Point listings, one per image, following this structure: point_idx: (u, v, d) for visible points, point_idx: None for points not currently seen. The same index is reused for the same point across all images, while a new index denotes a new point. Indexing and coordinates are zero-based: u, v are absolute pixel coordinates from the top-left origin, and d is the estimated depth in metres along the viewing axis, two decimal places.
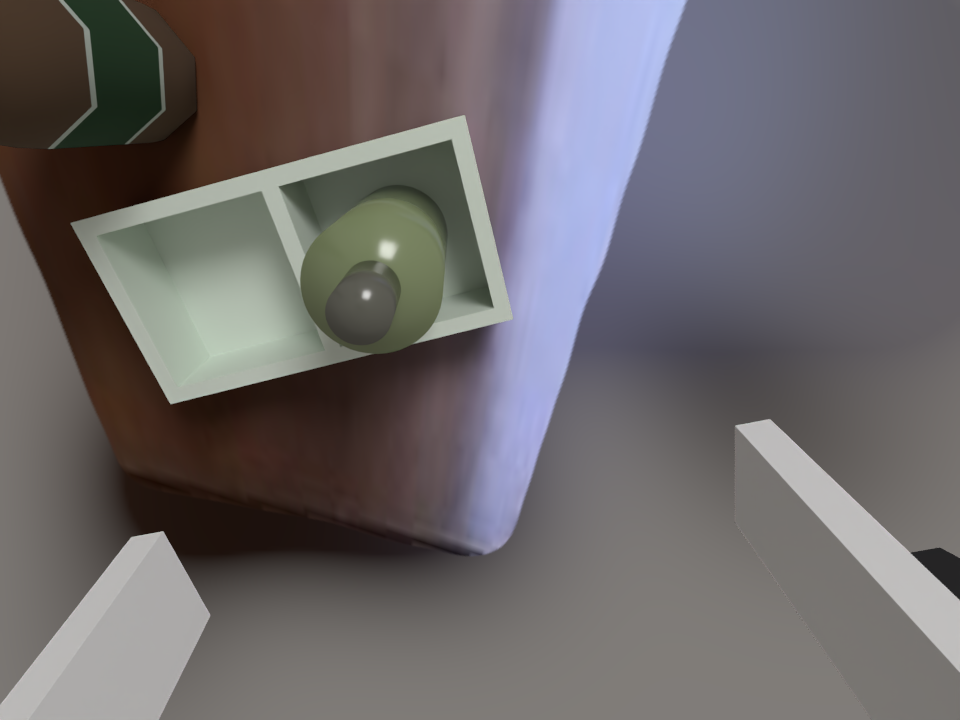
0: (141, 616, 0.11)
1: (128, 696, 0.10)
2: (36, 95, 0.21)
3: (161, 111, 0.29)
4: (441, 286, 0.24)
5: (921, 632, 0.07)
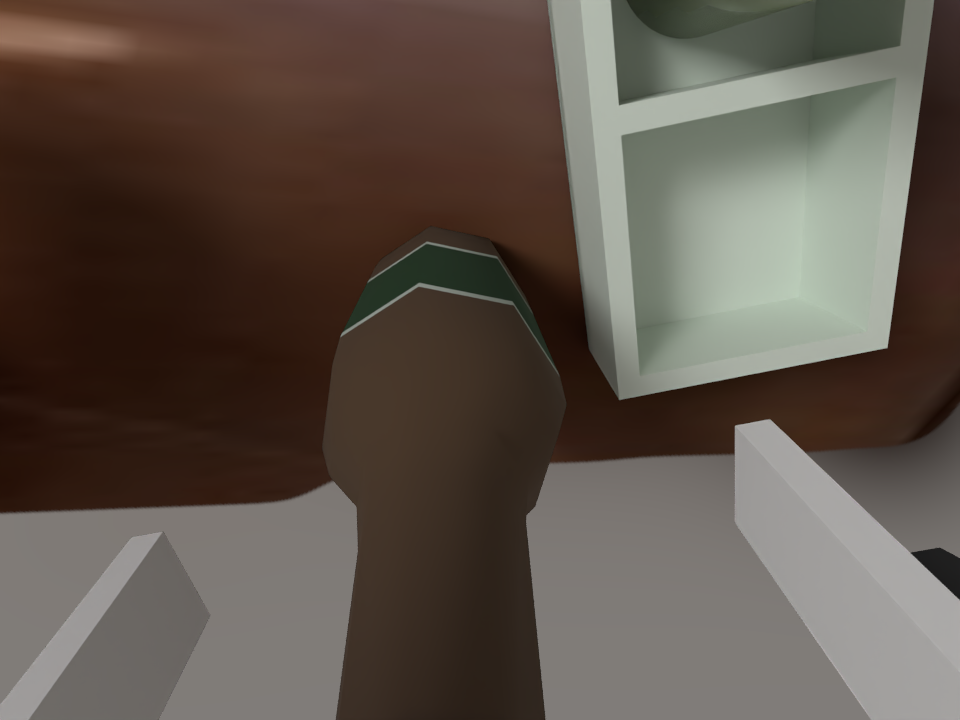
0: (141, 616, 0.11)
1: (128, 696, 0.10)
2: (511, 350, 0.14)
3: (498, 259, 0.22)
4: None
5: (921, 632, 0.07)
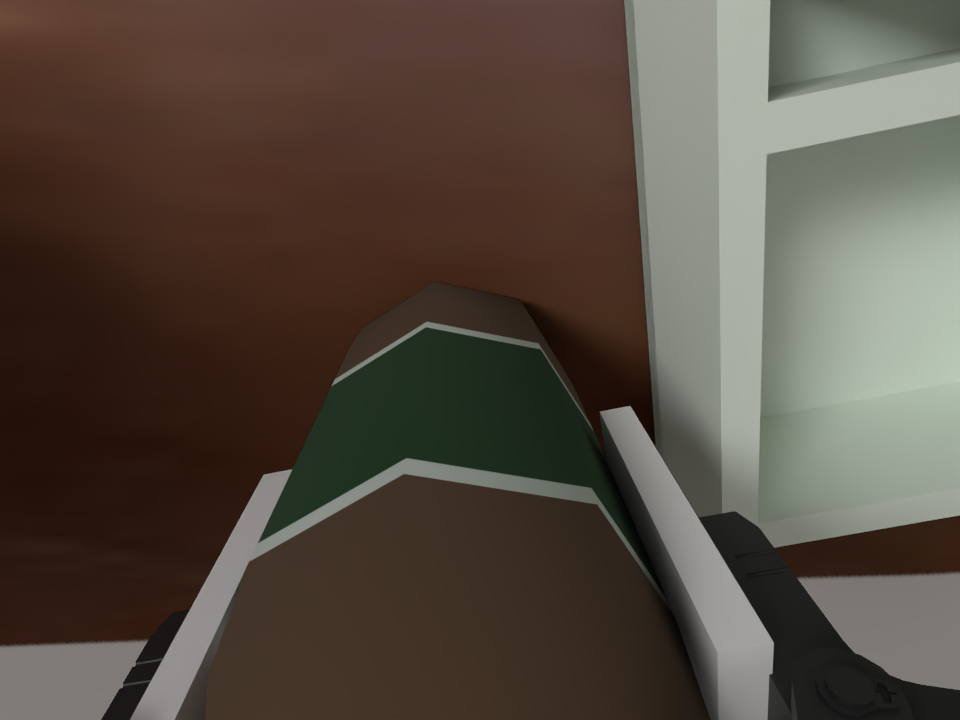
0: None
1: None
2: (622, 694, 0.06)
3: (542, 350, 0.14)
4: None
5: (677, 572, 0.08)
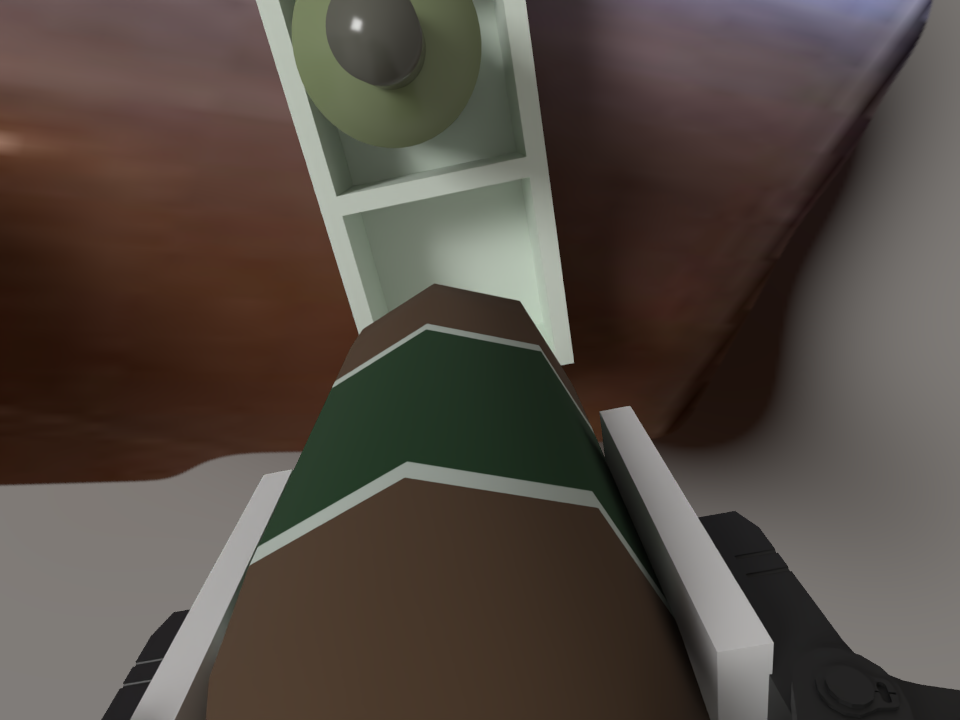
0: None
1: None
2: (623, 699, 0.06)
3: (542, 352, 0.14)
4: None
5: (677, 572, 0.08)
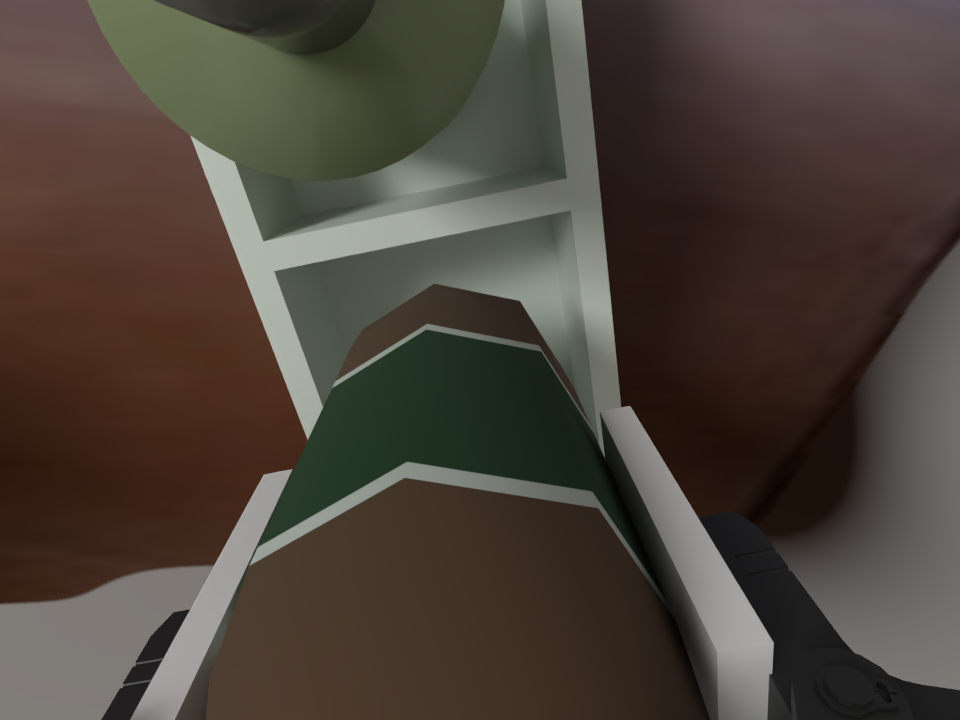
0: None
1: None
2: (623, 700, 0.06)
3: (542, 352, 0.14)
4: None
5: (677, 572, 0.08)
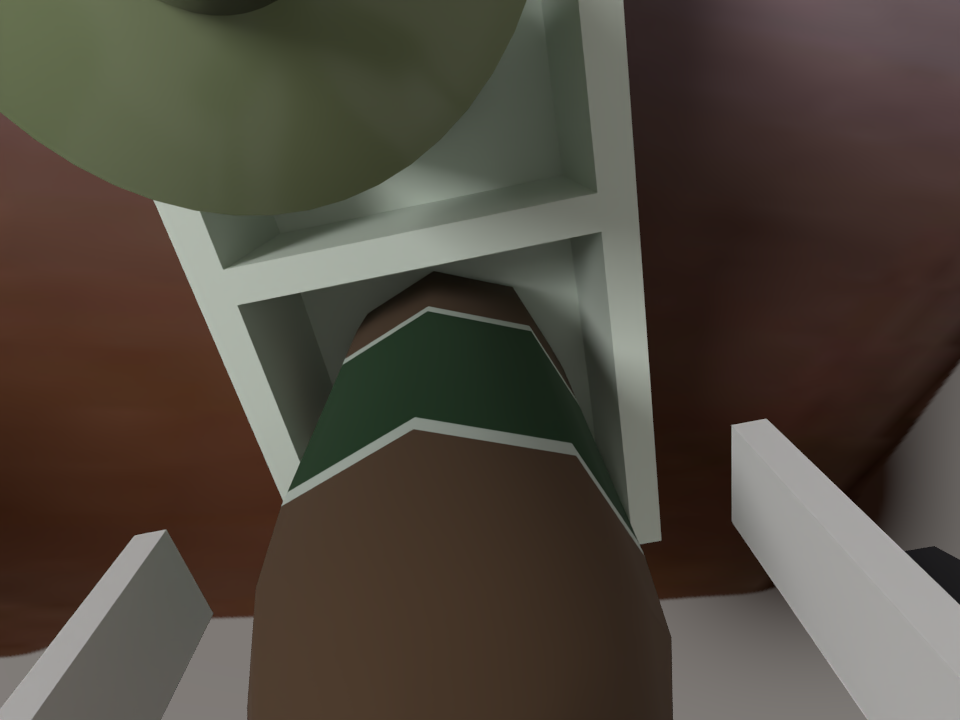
0: (145, 614, 0.11)
1: (132, 693, 0.10)
2: (590, 591, 0.07)
3: (532, 332, 0.15)
4: None
5: (914, 630, 0.07)
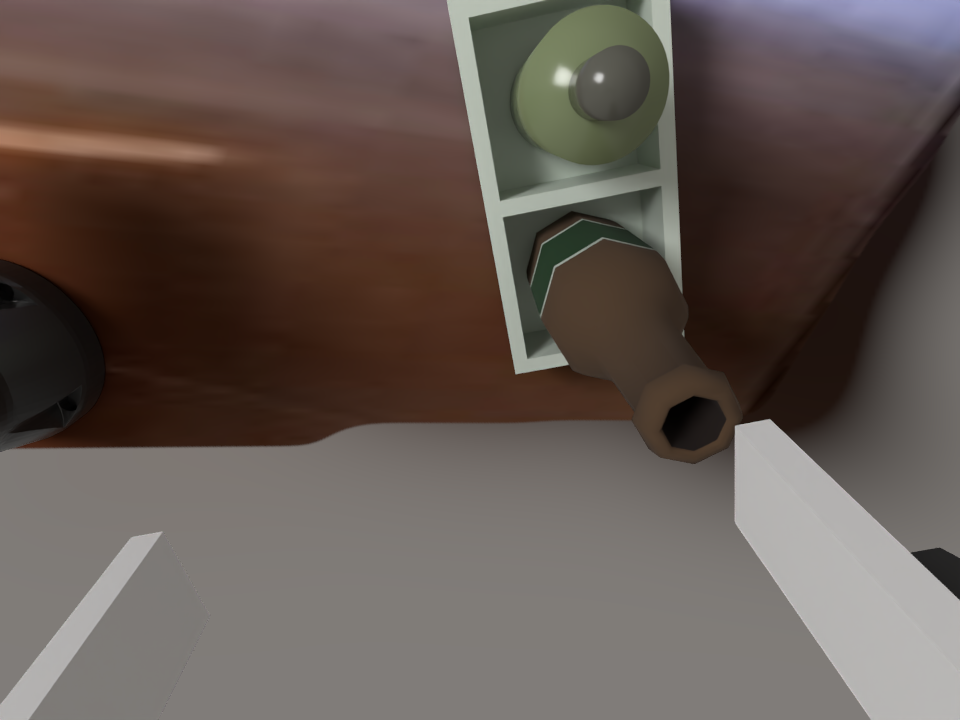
0: (141, 616, 0.11)
1: (128, 696, 0.10)
2: (665, 270, 0.27)
3: (627, 230, 0.35)
4: (605, 6, 0.23)
5: (921, 632, 0.07)
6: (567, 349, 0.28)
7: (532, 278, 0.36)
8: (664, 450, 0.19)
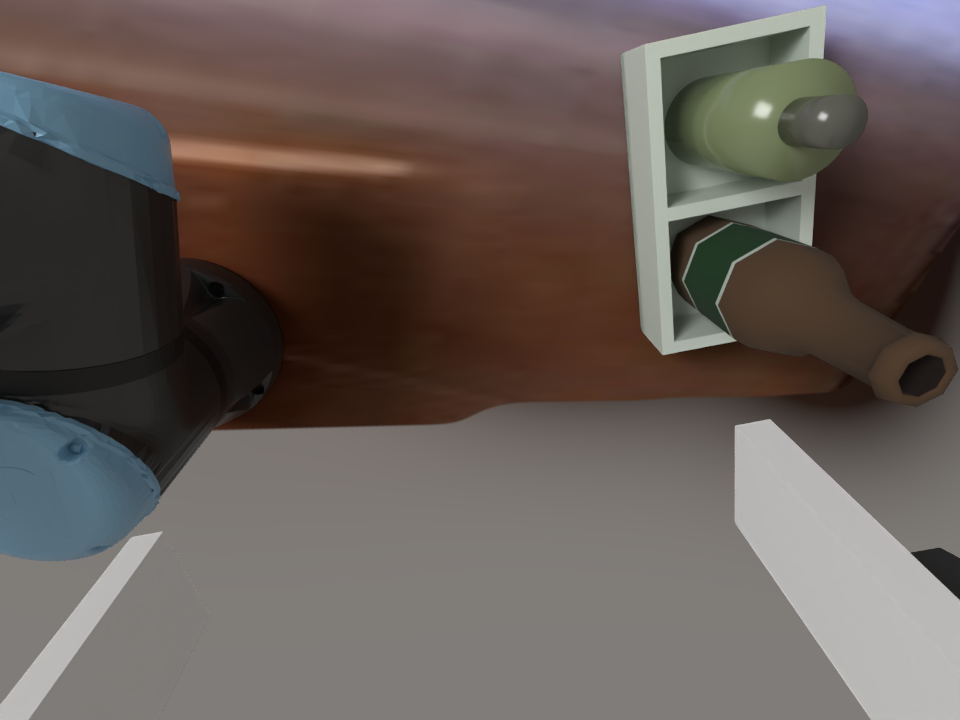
0: (141, 616, 0.11)
1: (128, 696, 0.10)
2: (838, 264, 0.33)
3: (769, 232, 0.41)
4: (815, 59, 0.29)
5: (921, 632, 0.07)
6: (754, 329, 0.34)
7: (685, 272, 0.43)
8: (898, 396, 0.25)
